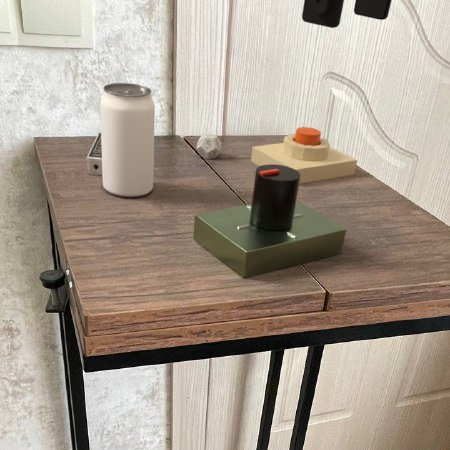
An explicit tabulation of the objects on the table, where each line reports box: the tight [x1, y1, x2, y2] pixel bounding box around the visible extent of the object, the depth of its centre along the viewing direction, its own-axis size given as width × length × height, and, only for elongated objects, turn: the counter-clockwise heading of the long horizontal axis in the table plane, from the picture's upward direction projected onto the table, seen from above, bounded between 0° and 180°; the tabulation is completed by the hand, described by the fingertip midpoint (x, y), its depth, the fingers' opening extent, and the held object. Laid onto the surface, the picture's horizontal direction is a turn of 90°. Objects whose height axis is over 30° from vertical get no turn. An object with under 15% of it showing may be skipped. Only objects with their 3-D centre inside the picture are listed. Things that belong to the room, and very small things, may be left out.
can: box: [99, 82, 156, 199], centre depth 78 cm, size 6×6×12 cm
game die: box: [196, 133, 222, 160], centre depth 93 cm, size 4×4×3 cm
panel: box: [193, 199, 347, 279], centre depth 71 cm, size 14×10×3 cm
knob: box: [250, 164, 300, 230], centre depth 68 cm, size 5×5×6 cm
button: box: [295, 126, 322, 146], centre depth 91 cm, size 4×4×2 cm
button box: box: [250, 133, 358, 185], centre depth 93 cm, size 12×10×4 cm
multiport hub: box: [86, 132, 103, 177], centre depth 88 cm, size 4×11×2 cm, turn 0°
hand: (346, 20), depth 54 cm, fingers open, 9 cm apart
